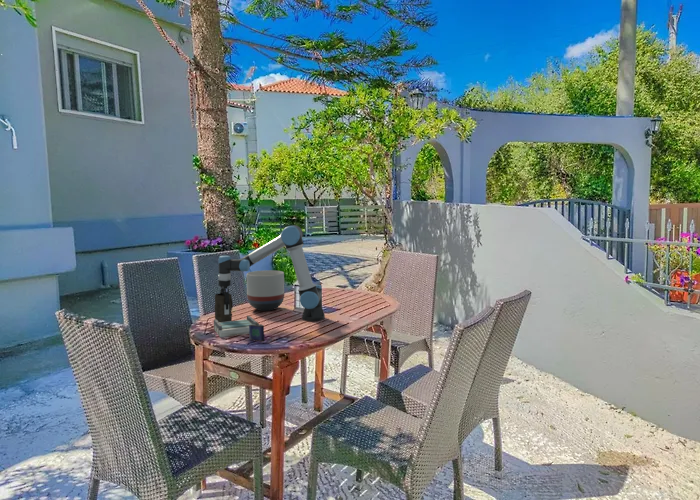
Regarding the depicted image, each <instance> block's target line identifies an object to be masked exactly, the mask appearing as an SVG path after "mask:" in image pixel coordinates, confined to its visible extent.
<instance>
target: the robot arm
mask: <svg viewBox="0 0 700 500" xmlns="http://www.w3.org/2000/svg"><path fill="white" fill-rule="evenodd" d="M303 236H304V232H303V229H302V228H301V227H300V226H298V225H296V224H292V225H288V226H286V227H284V228H283V230H282V231H281V233H280V235H279V236H277V237H275V238H274V239H272V240H269V242H267V243H265V244H264V245H262V246H260V247H258V248H257V249H255V250H253V251H252V252H250V253H249V254H247V255H245V256H243V257H241V258H240V259H238V258H237V259H232V258H231V256H230V255H220V256H219V257H218V275H217V277H218V286H219V287H220V291H219V293H221V294H223V295H225V303H224V314H225V315H226V314H229V304H230V300H229V294H230V293H229V292H230V289H229V288H228V287H230V286H231V284H232V282H231V279H232V278H231V275H232V274H231V273H232V272H248V271H249V270H250V267H251V266H253V265H255V264H256V263H259V262H260V261H261V260H263V259H266V258H267V257H269V256H270V255H272V254H275V252H278V251H279V250H281V249H282V248H284V247H285V250H286V251H288V252H289V256H290V259H291V262H292V265H293V269H294V271H295V275H296V278H297V281H298V282H297V283H298V286H299V288H298V294H299V302H300V305H301V306H302V308H304V309H303V312H302V316H301V319H302V320H303V321H307V322H318V321H323V320H325V317H326V316H325V312H324V309H323V295H322V294H323V293H322V291H323V289H322V285H321V284H315V283H313V279H312V276H311V272H310V269H309V265H308V262H307V259H306V256H305V253H304V248H303V246H304V245H305V244H304V240H303Z"/></svg>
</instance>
